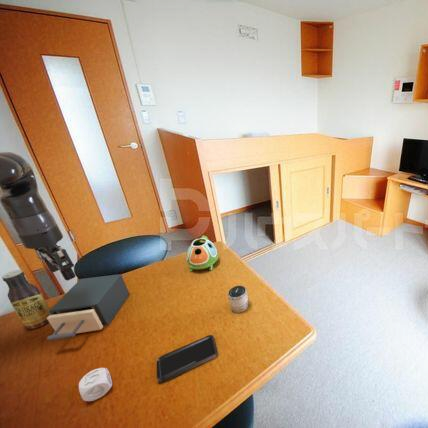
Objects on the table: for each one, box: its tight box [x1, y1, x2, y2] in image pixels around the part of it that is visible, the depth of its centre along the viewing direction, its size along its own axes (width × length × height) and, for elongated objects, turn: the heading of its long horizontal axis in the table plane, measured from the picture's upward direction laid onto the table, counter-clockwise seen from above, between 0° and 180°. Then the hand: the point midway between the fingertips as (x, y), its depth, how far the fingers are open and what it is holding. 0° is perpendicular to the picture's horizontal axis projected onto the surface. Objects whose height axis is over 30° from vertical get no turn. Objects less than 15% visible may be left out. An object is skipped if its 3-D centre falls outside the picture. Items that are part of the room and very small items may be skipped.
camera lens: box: [227, 285, 249, 314], centre depth 85 cm, size 6×6×8 cm
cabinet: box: [49, 273, 130, 327], centre depth 81 cm, size 15×13×10 cm
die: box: [78, 367, 113, 402], centre depth 60 cm, size 5×5×5 cm
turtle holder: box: [185, 235, 219, 272], centre depth 108 cm, size 12×18×12 cm
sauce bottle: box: [1, 269, 51, 330], centre depth 75 cm, size 6×6×20 cm
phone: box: [156, 334, 219, 384], centre depth 68 cm, size 8×1×15 cm
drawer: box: [46, 306, 104, 342], centre depth 77 cm, size 19×11×8 cm, turn 13°
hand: (63, 274), depth 72 cm, fingers open, 8 cm apart
